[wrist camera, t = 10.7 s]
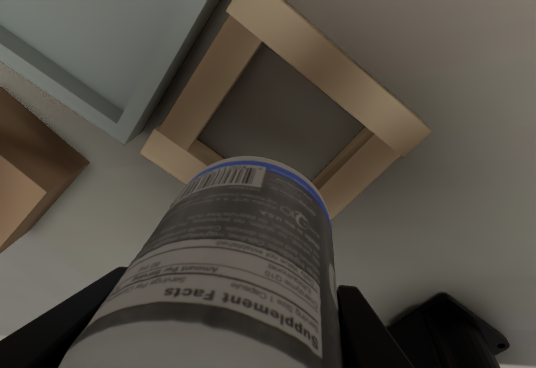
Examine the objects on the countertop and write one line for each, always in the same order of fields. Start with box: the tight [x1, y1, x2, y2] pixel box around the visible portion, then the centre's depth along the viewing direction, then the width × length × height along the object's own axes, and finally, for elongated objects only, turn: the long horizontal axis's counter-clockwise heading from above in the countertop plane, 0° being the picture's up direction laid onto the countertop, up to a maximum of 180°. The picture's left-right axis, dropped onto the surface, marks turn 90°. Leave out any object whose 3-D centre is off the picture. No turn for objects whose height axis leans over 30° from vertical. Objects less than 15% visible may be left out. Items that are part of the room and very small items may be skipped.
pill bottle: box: [58, 156, 344, 368], centre depth 7 cm, size 5×5×8 cm
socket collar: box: [140, 0, 432, 220], centre depth 17 cm, size 10×10×2 cm
